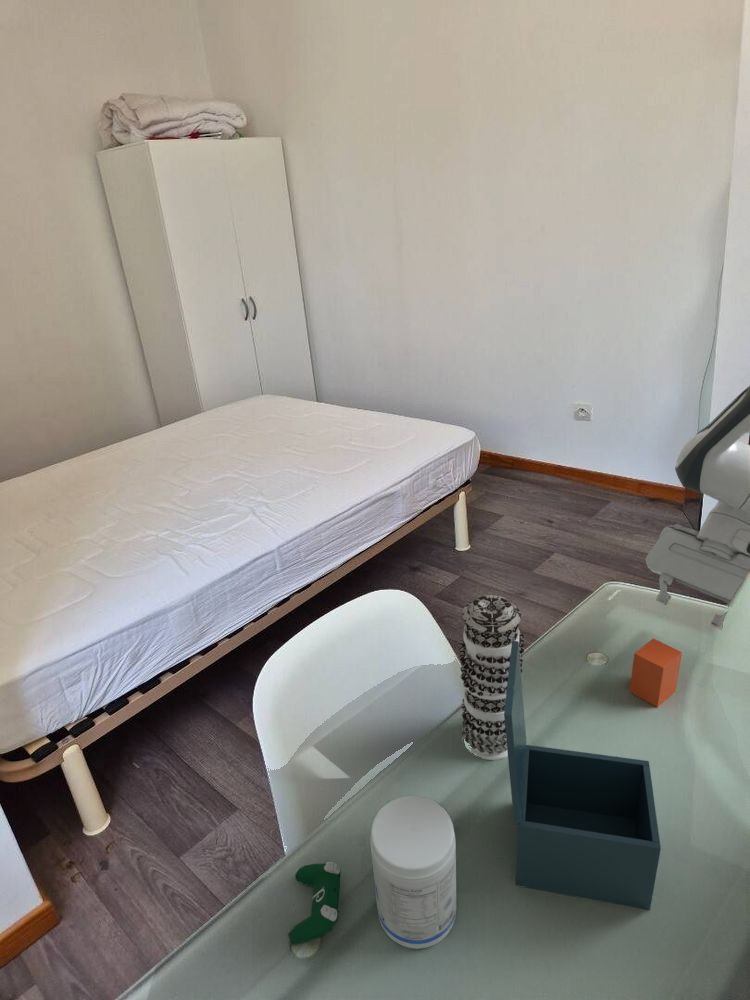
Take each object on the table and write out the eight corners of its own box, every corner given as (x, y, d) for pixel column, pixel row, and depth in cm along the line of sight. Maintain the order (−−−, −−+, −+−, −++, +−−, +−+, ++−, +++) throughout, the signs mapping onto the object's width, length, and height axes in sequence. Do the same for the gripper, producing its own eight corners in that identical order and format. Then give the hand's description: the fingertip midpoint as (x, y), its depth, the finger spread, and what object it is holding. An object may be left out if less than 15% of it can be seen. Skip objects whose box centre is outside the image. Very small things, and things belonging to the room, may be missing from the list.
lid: (518, 641, 83) (511, 640, 84) (511, 714, 73) (503, 714, 73) (526, 741, 90) (520, 741, 91) (521, 823, 79) (514, 822, 80)
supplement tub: (377, 875, 87) (369, 794, 80) (452, 873, 87) (450, 790, 80) (377, 955, 78) (368, 870, 72) (461, 952, 78) (459, 867, 71)
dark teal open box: (640, 819, 92) (648, 760, 87) (650, 910, 81) (660, 848, 76) (520, 801, 95) (523, 744, 91) (515, 885, 85) (517, 825, 80)
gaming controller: (309, 957, 80) (343, 933, 78) (284, 943, 79) (317, 919, 77) (316, 882, 88) (346, 859, 86) (293, 869, 87) (323, 846, 85)
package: (675, 691, 113) (682, 652, 109) (657, 707, 109) (663, 668, 106) (647, 676, 116) (653, 638, 113) (629, 691, 113) (634, 653, 110)
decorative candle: (532, 737, 106) (539, 602, 95) (496, 772, 100) (498, 634, 89) (485, 708, 112) (486, 579, 101) (448, 740, 106) (445, 607, 95)
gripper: (662, 513, 119) (624, 583, 118) (788, 556, 104) (746, 637, 103) (673, 527, 123) (636, 594, 122) (795, 570, 108) (754, 647, 107)
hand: (687, 614), depth 112 cm, fingers open, 8 cm apart
